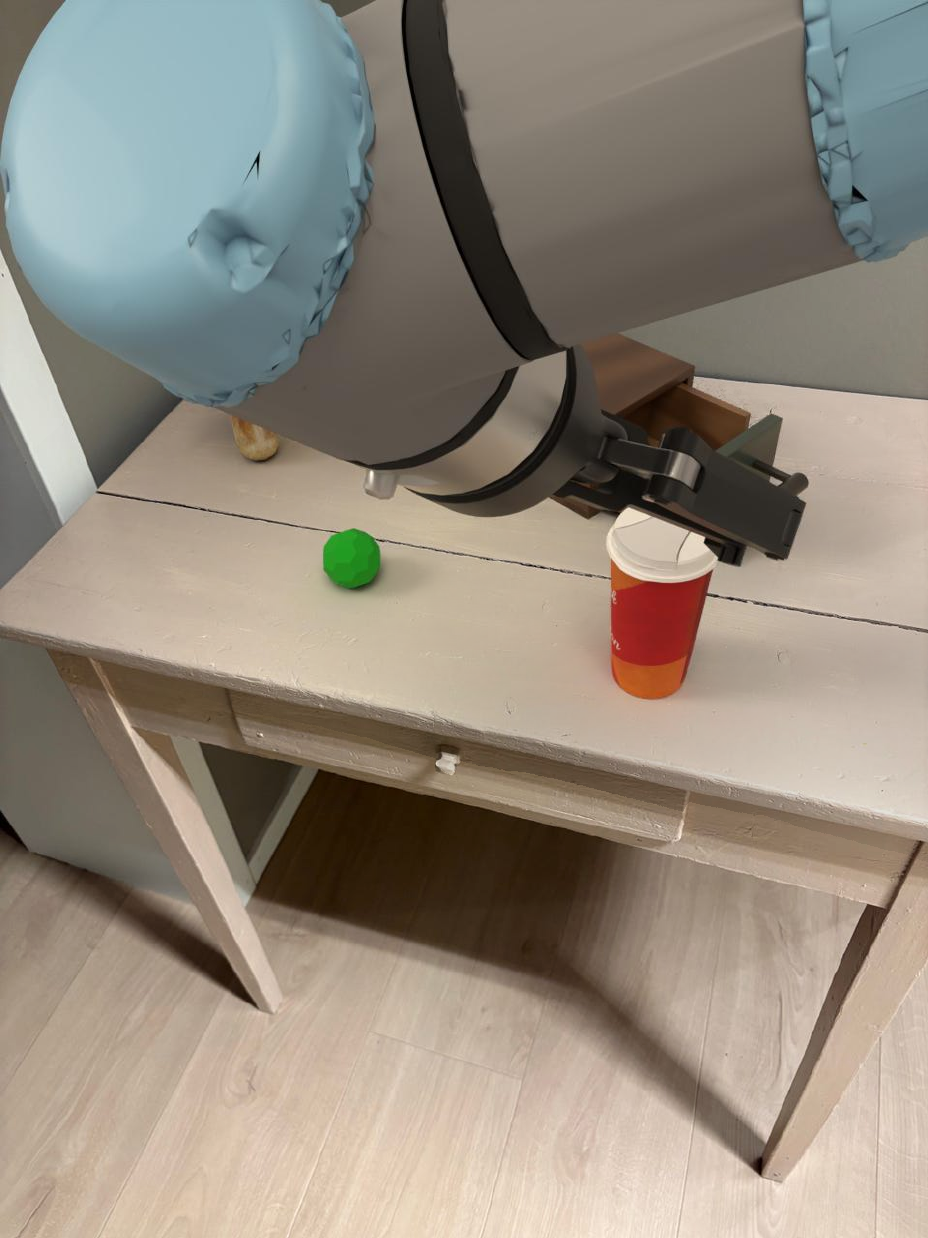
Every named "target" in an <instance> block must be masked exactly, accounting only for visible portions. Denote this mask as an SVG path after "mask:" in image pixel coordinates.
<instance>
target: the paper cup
mask: <svg viewBox="0 0 928 1238" xmlns="http://www.w3.org/2000/svg"><path fill="white" fill-rule="evenodd" d="M704 540H705V537H703V536H701V535H698V534H696V533H693V532H690V531H688V530H685V529H683V528H680V527H678V526H675V525H673V524H670V523H667V522H665V521H662V520H660V519H657V518H655V517H652V516H649V515H647V514H644V513H642V512H639V511H637V510H634V509H631V508H629V507H628V508H627V509H625V510H624V511H623V512H622V513H620V514H619V515H618V516H617V518H616V519H615V521H614V524H613V525H612V526H611V527H610V529H609V531H608V533H607V535H606V539H605V544H606V546H605V547H606V550H607V553H608V556H609V557H610V661H611V662H610V663H611V665H610V666H611V674H612V677H613V681H615V683H616V685H617V686H618V687H619V688H620V689H621V690H623V691H624V692H626V693H627V694H628V695H631V696H633V697H636V698H639V699H644V700H659V699H664V698H667V697H670V696H672V695H673V694H675V693H676V692H678V691H679V690H680V688H681V687H682V686H683V684H684V682H685V680H686V677H687V673H688V670H689V666H690V663H691V659H692V655H693V651H694V648H695V643H696V640H697V635H698V632H699V628H700V623H701V619H702V617H703V611H704V607H705V604H706V600H707V596H708V591H709V587H710V584H711V580H712V576H713V571H714V568H716V566H717V565H718V564H719V562H720V561H717V559H718V557H717V556H716V555H715V554H714V553H713V552H712V551H711V550H710V549H709V548H708V547H707V546H706V545H705V544H704Z"/></svg>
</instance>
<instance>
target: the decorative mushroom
mask: <svg viewBox="0 0 928 1238" xmlns="http://www.w3.org/2000/svg"><path fill="white" fill-rule="evenodd" d="M229 415H230V414H229ZM230 420H231V426H232V430H233V436H234V439H235V443H236V445H237V448H238V450H239V451H240V453H241V454H242V455H243V456H244V457H245V458H247V459H248V460H251V461H256V462H257V461H258V462H259V461H263V460H267V459H269V458H270V457H272V456H273V455H275V453H276V452H277V450H278V447H279V444H280V441H279V434H276V433H274V432H272V431H269V430H267V429H264V428H262V427H259V426H257V425H255V424H252V423H250V422H247V421H245V420H242V419H240V418H238V417H235V416H233V415H230Z"/></svg>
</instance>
